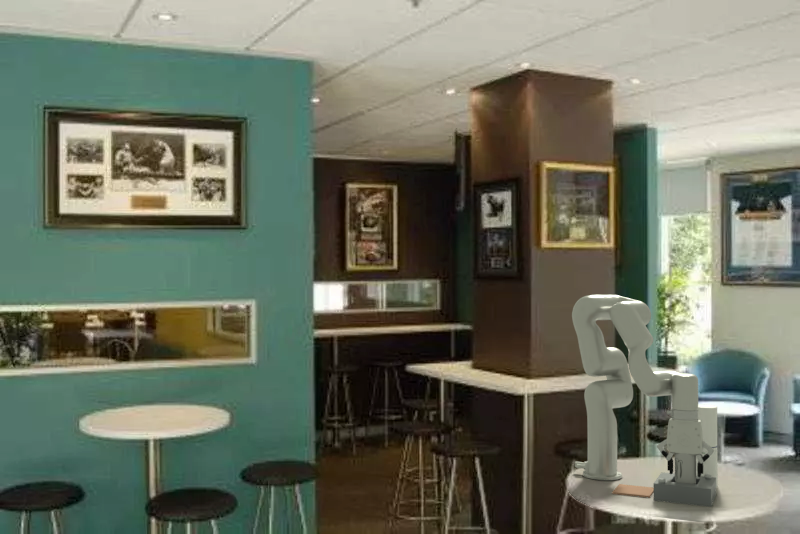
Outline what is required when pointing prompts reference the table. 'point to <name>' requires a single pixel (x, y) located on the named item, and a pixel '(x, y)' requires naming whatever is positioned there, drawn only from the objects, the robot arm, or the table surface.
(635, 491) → the coaster
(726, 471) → the table surface
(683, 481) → the energy drink can
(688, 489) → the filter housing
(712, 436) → the cylindrical container
